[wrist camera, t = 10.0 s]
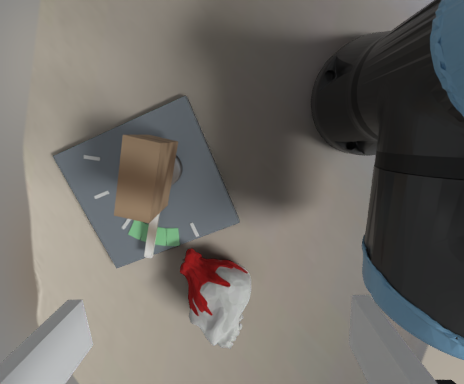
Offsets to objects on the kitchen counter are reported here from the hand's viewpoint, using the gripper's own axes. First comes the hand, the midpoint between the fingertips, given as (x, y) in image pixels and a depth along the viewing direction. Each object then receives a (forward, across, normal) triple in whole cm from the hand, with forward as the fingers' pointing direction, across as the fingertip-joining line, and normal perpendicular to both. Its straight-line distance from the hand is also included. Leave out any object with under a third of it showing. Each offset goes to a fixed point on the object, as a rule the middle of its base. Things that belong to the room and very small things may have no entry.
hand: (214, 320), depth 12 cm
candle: (+26, -4, -14) cm, 30 cm away
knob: (+25, -11, 0) cm, 27 cm away
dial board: (+26, -13, +1) cm, 29 cm away
